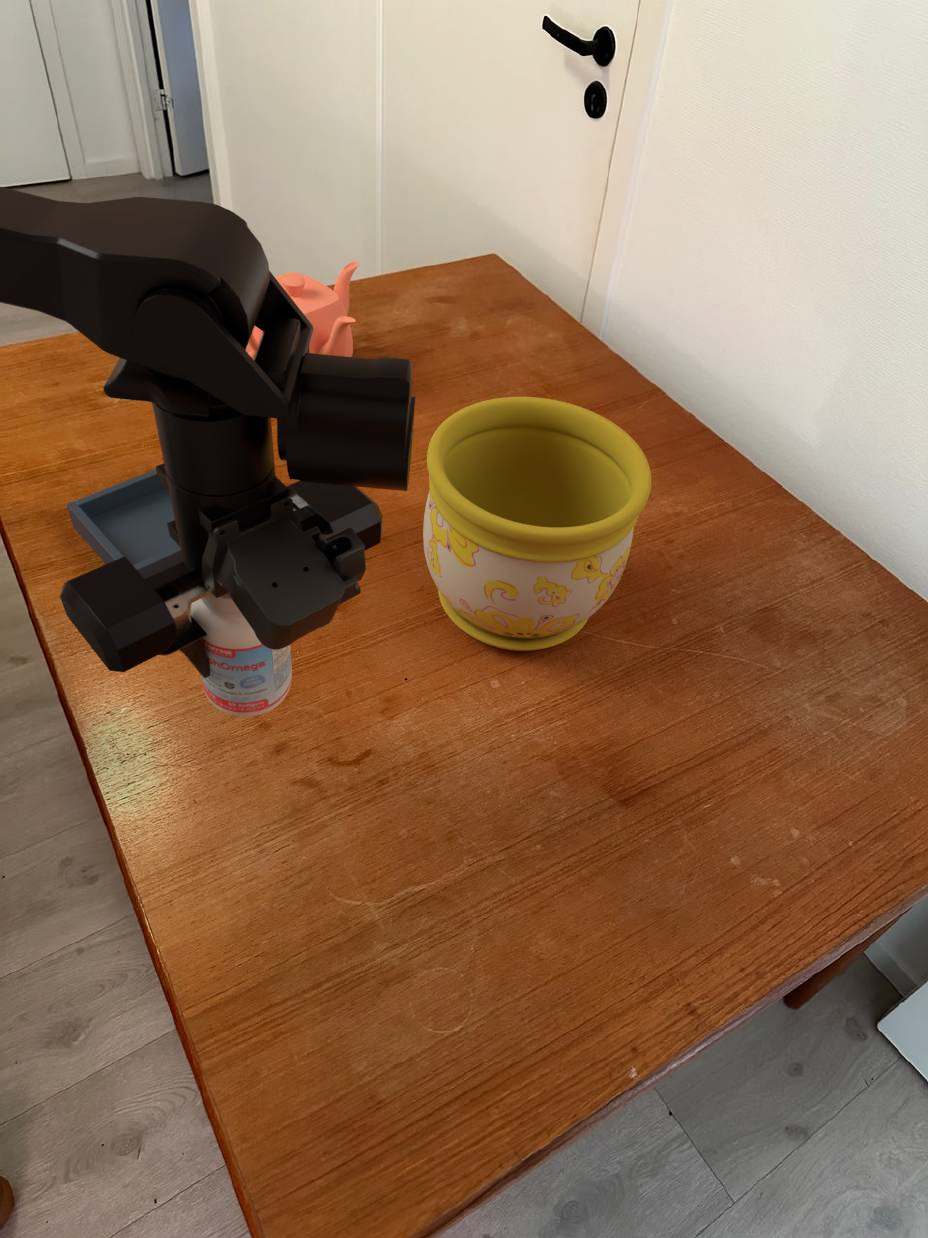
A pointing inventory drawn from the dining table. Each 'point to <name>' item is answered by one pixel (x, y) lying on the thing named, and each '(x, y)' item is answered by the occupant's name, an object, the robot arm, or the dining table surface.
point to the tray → (129, 524)
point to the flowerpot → (530, 517)
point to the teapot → (319, 312)
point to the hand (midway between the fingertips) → (245, 650)
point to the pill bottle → (240, 661)
